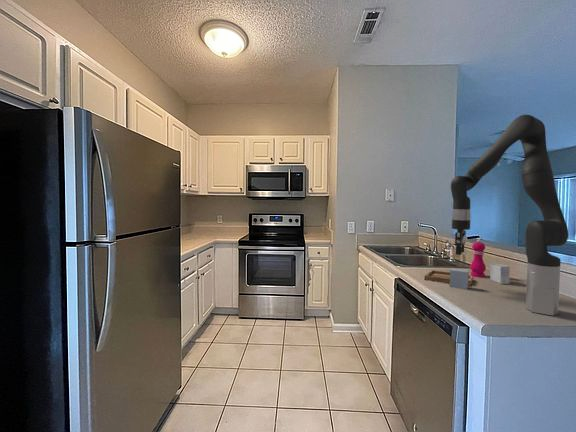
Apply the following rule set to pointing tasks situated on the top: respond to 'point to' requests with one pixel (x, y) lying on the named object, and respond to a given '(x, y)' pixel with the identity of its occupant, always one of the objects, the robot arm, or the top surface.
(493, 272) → the medicine box
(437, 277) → the wooden serving tray
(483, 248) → the pepper mill
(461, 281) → the panel block
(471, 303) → the top surface
